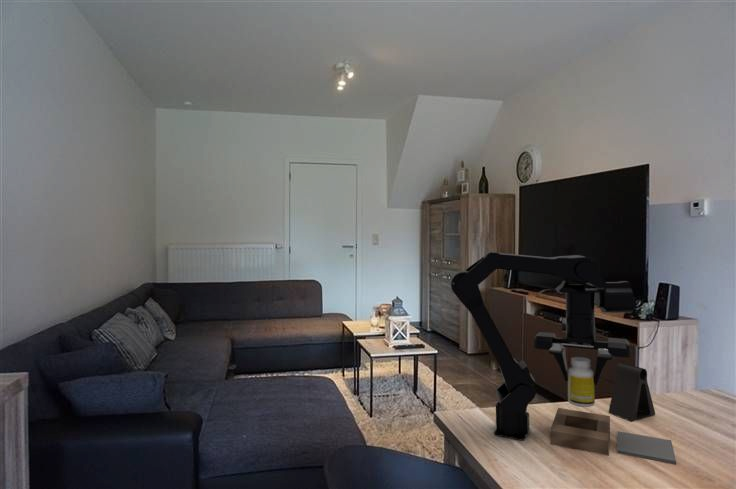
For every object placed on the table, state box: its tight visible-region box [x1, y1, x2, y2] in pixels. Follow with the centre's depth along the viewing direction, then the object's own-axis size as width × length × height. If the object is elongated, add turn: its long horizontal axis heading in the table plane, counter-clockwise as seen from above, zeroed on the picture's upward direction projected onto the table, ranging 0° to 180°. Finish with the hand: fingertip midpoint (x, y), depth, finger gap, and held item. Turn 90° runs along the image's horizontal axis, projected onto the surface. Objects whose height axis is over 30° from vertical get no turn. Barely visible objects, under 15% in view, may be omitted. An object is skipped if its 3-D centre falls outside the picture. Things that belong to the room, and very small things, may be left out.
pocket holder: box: [549, 407, 611, 456], centre depth 100 cm, size 11×14×3 cm
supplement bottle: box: [567, 356, 596, 408], centre depth 99 cm, size 5×5×10 cm
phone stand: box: [608, 362, 656, 423], centre depth 111 cm, size 9×6×12 cm, turn 115°
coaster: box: [616, 430, 677, 465], centre depth 94 cm, size 10×10×1 cm
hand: (580, 382), depth 99 cm, fingers closed on supplement bottle, 5 cm apart
